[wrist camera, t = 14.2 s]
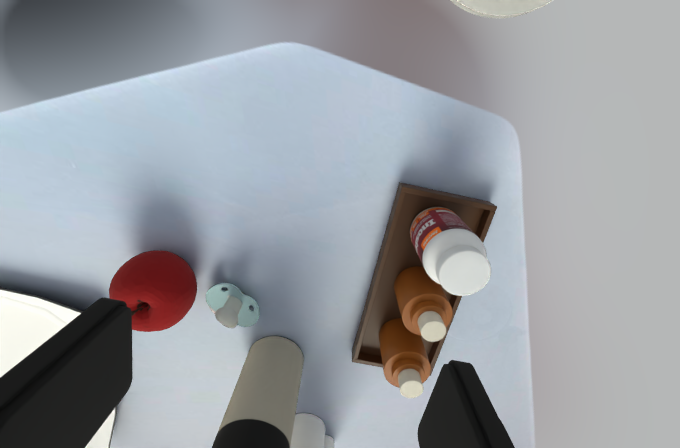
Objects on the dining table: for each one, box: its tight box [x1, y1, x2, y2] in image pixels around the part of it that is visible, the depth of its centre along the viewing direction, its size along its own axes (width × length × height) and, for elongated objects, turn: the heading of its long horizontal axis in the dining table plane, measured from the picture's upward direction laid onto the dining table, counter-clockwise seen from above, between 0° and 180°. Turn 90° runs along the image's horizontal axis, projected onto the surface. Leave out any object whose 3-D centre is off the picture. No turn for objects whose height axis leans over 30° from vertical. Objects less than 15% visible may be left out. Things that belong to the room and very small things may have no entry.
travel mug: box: [212, 336, 304, 448], centre depth 39 cm, size 8×8×18 cm
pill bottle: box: [410, 207, 491, 296], centre depth 35 cm, size 6×6×11 cm
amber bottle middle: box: [394, 266, 452, 342], centre depth 38 cm, size 6×6×9 cm
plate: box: [0, 288, 117, 448], centre depth 47 cm, size 29×29×3 cm
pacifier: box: [206, 283, 260, 328], centre depth 42 cm, size 7×6×6 cm
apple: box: [109, 251, 197, 332], centre depth 38 cm, size 9×9×10 cm
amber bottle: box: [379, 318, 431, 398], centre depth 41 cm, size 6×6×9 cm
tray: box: [352, 183, 497, 376], centre depth 42 cm, size 25×11×2 cm, turn 168°
